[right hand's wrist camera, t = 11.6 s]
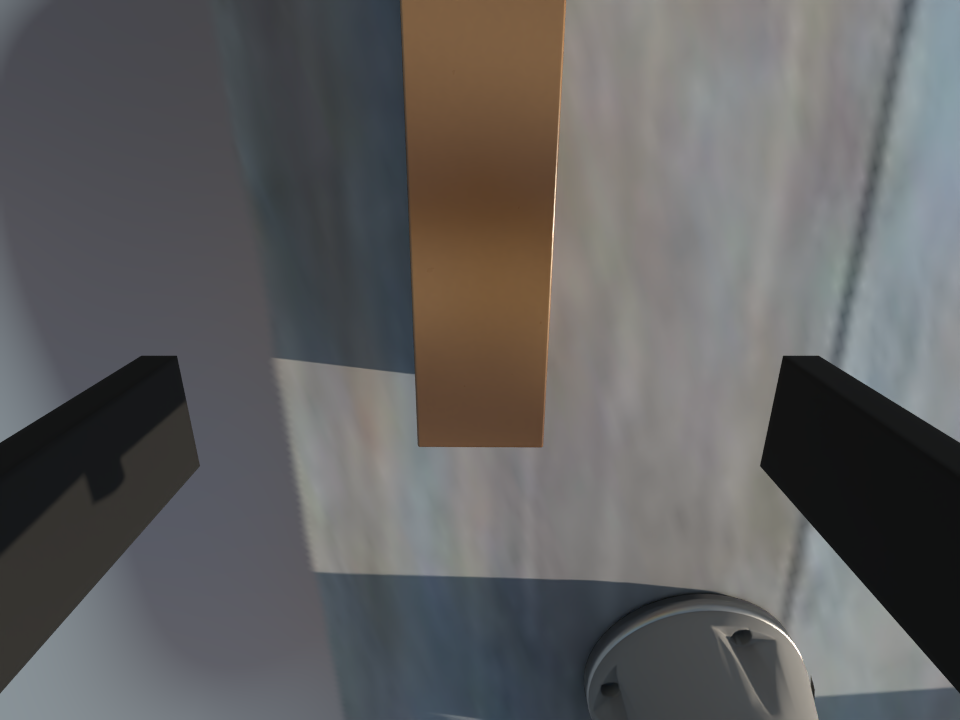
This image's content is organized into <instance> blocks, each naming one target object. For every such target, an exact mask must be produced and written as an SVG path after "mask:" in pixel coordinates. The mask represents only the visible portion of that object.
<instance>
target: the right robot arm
mask: <svg viewBox="0 0 960 720" xmlns="http://www.w3.org/2000/svg"><path fill="white" fill-rule="evenodd" d="M199 466H200V464H199V460H198V455H197V450H196V445H195V441H194V436H193V431H192V426H191V421H190V417H189V412H188V407H187V402H186V397H185V393H184V388H183V383H182V378H181V373H180V369H179V364H178V359H177V356H140V357H139V358H137V359H135V360H134V361H132V362H131V363H129V364H127V365H126V366H124V367H123V368H121V369H119V370H118V371H116V372H114V373H113V374H111V375H110V376H108V377H106V378H105V379H103V380H101V381H100V382H98V383H97V384H95V385H93V386H92V387H90V388H88V389H87V390H85V391H84V392H82V393H80V394H79V395H77V396H75V397H74V398H72V399H71V400H69V401H67V402H66V403H64V404H62V405H61V406H59V407H58V408H56V409H54V410H53V411H51V412H50V413H48V414H46V415H45V416H43V417H41V418H40V419H38V420H37V421H35V422H33V423H32V424H30V425H28V426H27V427H25V428H24V429H22V430H20V431H19V432H17V433H15V434H14V435H12V436H11V437H9V438H7V439H6V440H4V441H2V442H1V443H0V693H1V692H2V691H3V690H4V688H5V687H6V686H7V685H8V684H9V683H10V682H11V680H12V679H13V678H14V677H15V676H16V675H17V674H18V672H19V671H20V670H21V669H22V668H23V667H24V666H25V664H26V663H27V662H28V661H29V660H30V659H31V658H32V657H33V655H34V654H35V653H36V652H37V651H38V650H39V648H40V647H41V646H42V645H43V644H44V643H45V642H46V641H47V639H48V638H49V637H50V636H51V635H52V634H53V633H54V631H55V630H56V629H57V628H58V627H59V626H60V625H61V624H62V622H63V621H64V620H65V619H66V618H67V617H68V616H69V614H70V613H71V612H72V611H73V610H74V609H75V608H76V606H77V605H78V604H79V603H80V602H81V601H82V599H83V598H84V597H85V596H86V595H87V594H88V593H89V592H90V590H91V589H92V588H93V587H94V586H95V585H96V584H97V582H98V581H99V580H100V579H101V578H102V577H103V576H104V575H105V573H106V572H107V571H108V570H109V569H110V568H111V567H112V565H113V564H114V563H115V562H116V561H117V560H118V559H119V557H120V556H121V555H122V554H123V553H124V552H125V551H126V549H127V548H128V547H129V546H130V545H131V544H132V543H133V541H134V540H135V539H136V538H137V537H138V536H139V535H140V534H141V532H142V531H143V530H144V529H145V528H146V527H147V526H148V524H149V523H150V522H151V521H152V520H153V519H154V518H155V516H156V515H157V514H158V513H159V512H160V511H161V510H162V508H163V507H164V506H165V505H166V504H167V503H168V502H169V501H170V499H171V498H172V497H173V496H174V495H175V494H176V493H177V491H178V490H179V489H180V488H181V487H182V486H183V485H184V483H185V482H186V481H187V480H188V479H189V478H190V477H191V475H192V474H193V473H194V472H195V471H196V470H197V469H198V468H199ZM760 466H761V468H762V469H763V470H764V471H765V472H766V473H767V474H768V476H769V477H770V478H771V479H772V480H773V481H774V482H775V484H776V485H777V486H778V487H779V488H780V489H781V490H782V491H783V493H784V494H785V495H786V496H787V497H788V498H789V499H790V501H791V502H792V503H793V504H794V505H795V506H796V507H797V509H798V510H799V511H800V512H801V513H802V514H803V515H804V517H805V518H806V519H807V520H808V521H809V522H810V523H811V524H812V526H813V527H814V528H815V529H816V530H817V531H818V532H819V534H820V535H821V536H822V537H823V538H824V539H825V540H826V542H827V543H828V544H829V545H830V546H831V547H832V548H833V550H834V551H835V552H836V553H837V554H838V555H839V556H840V557H841V559H842V560H843V561H844V562H845V563H846V564H847V565H848V567H849V568H850V569H851V570H852V571H853V572H854V573H855V575H856V576H857V577H858V578H859V579H860V580H861V581H862V583H863V584H864V585H865V586H866V587H867V588H868V589H869V590H870V592H871V593H872V594H873V595H874V596H875V597H876V598H877V600H878V601H879V602H880V603H881V604H882V605H883V606H884V608H885V609H886V610H887V611H888V612H889V613H890V614H891V616H892V617H893V618H894V619H895V620H896V621H897V622H898V624H899V625H900V626H901V627H902V628H903V629H904V630H905V631H906V633H907V634H908V635H909V636H910V637H911V638H912V639H913V641H914V642H915V643H916V644H917V645H918V646H919V647H920V649H921V650H922V651H923V652H924V653H925V654H926V655H927V657H928V658H929V659H930V660H931V661H932V662H933V663H934V664H935V666H936V667H937V668H938V669H939V670H940V671H941V672H942V674H943V675H944V676H945V677H946V678H947V679H948V680H949V682H950V683H951V684H952V685H953V686H954V687H955V688H956V690H957V691H958V692H959V693H960V443H959V442H958V441H956V440H954V439H953V438H951V437H949V436H948V435H946V434H945V433H943V432H941V431H940V430H938V429H936V428H935V427H933V426H932V425H930V424H928V423H927V422H925V421H923V420H922V419H920V418H919V417H917V416H915V415H914V414H912V413H911V412H909V411H907V410H906V409H904V408H902V407H901V406H899V405H898V404H896V403H894V402H893V401H891V400H889V399H888V398H886V397H885V396H883V395H881V394H880V393H878V392H876V391H875V390H873V389H872V388H870V387H868V386H867V385H865V384H863V383H862V382H860V381H859V380H857V379H855V378H854V377H852V376H850V375H849V374H847V373H846V372H844V371H842V370H841V369H839V368H837V367H836V366H834V365H833V364H831V363H829V362H828V361H826V360H825V359H823V358H821V357H820V356H783V359H782V364H781V369H780V373H779V378H778V383H777V388H776V393H775V397H774V402H773V407H772V412H771V417H770V421H769V426H768V431H767V436H766V440H765V445H764V450H763V455H762V460H761V464H760ZM584 688H585V694H586V699H587V704H588V710H589V713H590V716H591V719H592V720H819V719H818V715H817V711H816V707H815V702H814V693H815V689H814V685H813V681H812V677H811V686H810V681H809V677H808V673H807V670H806V667H805V665H804V663H803V660H802V657H801V655H800V653H799V651H798V649H797V648H796V646H795V644H794V643H793V641H792V640H791V638H790V636H789V635H788V633H787V632H786V630H785V629H784V627H783V626H782V625H781V624H780V622H779V621H778V620H777V619H776V618H774V617H773V616H772V615H771V614H769V613H768V612H767V611H765V610H764V609H762V608H760V607H758V606H756V605H754V604H752V603H750V602H747V601H744V600H742V599H738V598H734V597H729V596H724V595H715V594H692V595H683V596H676V597H672V598H667V599H664V600H660V601H657V602H654V603H651V604H649V605H646V606H644V607H642V608H640V609H637V610H635V611H634V612H632V613H630V614H628V615H627V616H625V617H624V618H622V619H621V620H619V621H618V622H617V623H616V624H614V625H613V626H612V627H611V628H610V629H609V630H608V631H607V632H606V633H605V634H604V635H603V636H602V637H601V638H600V640H599V641H598V642H597V644H596V645H595V647H594V648H593V650H592V652H591V654H590V656H589V658H588V661H587V664H586V668H585V673H584Z"/></svg>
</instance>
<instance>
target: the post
mask: <svg viewBox="0 0 960 720" xmlns="http://www.w3.org/2000/svg"><path fill="white" fill-rule="evenodd" d="M565 11H566V0H400V13H401V38H402V63H403V88H404V113H405V138H406V163H407V188H408V212H409V237H410V262H411V287H412V312H413V337H414V362H415V387H416V411H417V436H418V446H419V447H542V446H543V437H544V418H545V398H546V379H547V360H548V340H549V321H550V302H551V282H552V263H553V244H554V224H555V205H556V186H557V166H558V147H559V128H560V108H561V89H562V69H563V50H564V31H565Z"/></svg>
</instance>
